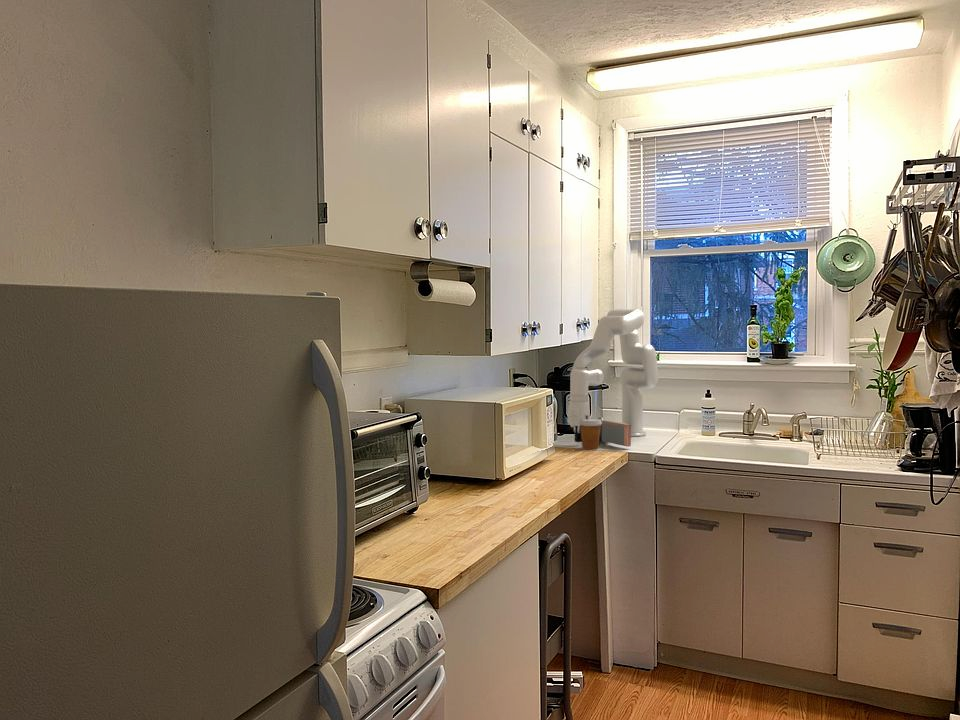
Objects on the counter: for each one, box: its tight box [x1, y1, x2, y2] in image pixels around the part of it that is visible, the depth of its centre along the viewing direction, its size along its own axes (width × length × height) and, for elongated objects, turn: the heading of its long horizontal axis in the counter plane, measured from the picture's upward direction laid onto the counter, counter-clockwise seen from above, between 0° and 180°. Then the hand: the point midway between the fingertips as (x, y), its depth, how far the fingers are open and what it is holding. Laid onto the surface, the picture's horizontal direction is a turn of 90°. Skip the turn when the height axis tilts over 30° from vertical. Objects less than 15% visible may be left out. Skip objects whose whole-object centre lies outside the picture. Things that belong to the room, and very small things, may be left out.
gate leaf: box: [601, 419, 632, 447], centre depth 309 cm, size 16×2×9 cm, turn 30°
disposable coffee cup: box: [579, 417, 602, 450], centre depth 304 cm, size 10×10×12 cm
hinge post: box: [597, 417, 608, 445], centre depth 317 cm, size 7×7×11 cm
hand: (578, 441), depth 311 cm, fingers closed
